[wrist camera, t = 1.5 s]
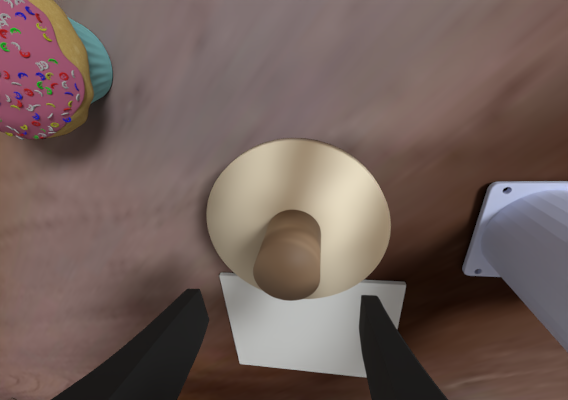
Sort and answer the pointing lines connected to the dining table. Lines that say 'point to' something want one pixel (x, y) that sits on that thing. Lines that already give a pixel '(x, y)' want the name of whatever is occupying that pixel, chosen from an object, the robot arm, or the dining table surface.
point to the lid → (298, 219)
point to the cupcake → (47, 70)
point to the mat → (304, 326)
